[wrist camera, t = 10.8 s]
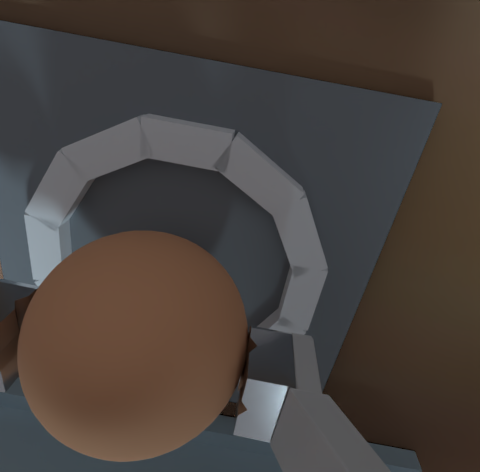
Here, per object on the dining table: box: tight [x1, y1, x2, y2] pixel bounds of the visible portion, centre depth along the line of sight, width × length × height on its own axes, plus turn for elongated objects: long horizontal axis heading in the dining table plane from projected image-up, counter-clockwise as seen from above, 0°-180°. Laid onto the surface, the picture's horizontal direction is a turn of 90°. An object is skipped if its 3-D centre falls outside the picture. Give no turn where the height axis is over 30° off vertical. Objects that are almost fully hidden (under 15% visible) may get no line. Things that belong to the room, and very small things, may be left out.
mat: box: [0, 20, 442, 403], centre depth 11 cm, size 12×12×1 cm
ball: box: [17, 230, 248, 462], centre depth 8 cm, size 5×5×5 cm
